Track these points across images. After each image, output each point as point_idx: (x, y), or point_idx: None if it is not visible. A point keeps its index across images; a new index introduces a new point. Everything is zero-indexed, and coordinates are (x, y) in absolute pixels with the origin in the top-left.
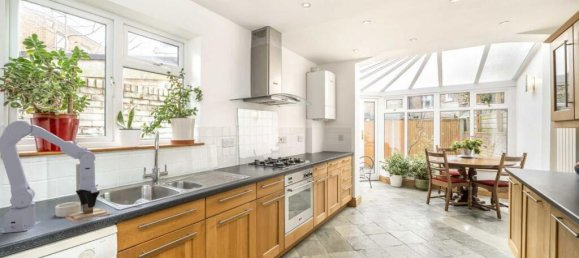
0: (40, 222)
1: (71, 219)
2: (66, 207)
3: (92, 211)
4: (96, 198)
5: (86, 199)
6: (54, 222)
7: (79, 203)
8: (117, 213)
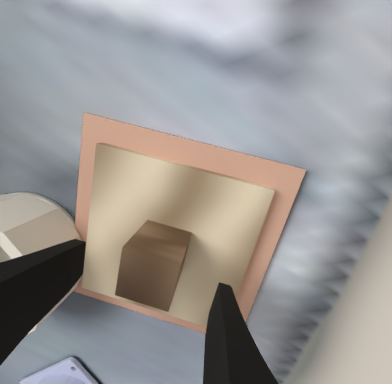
0: (77, 363)
1: (167, 316)
2: (38, 325)
3: (189, 239)
4: (263, 359)
5: (49, 273)
6: (121, 342)
7: (8, 243)
8: (344, 146)
